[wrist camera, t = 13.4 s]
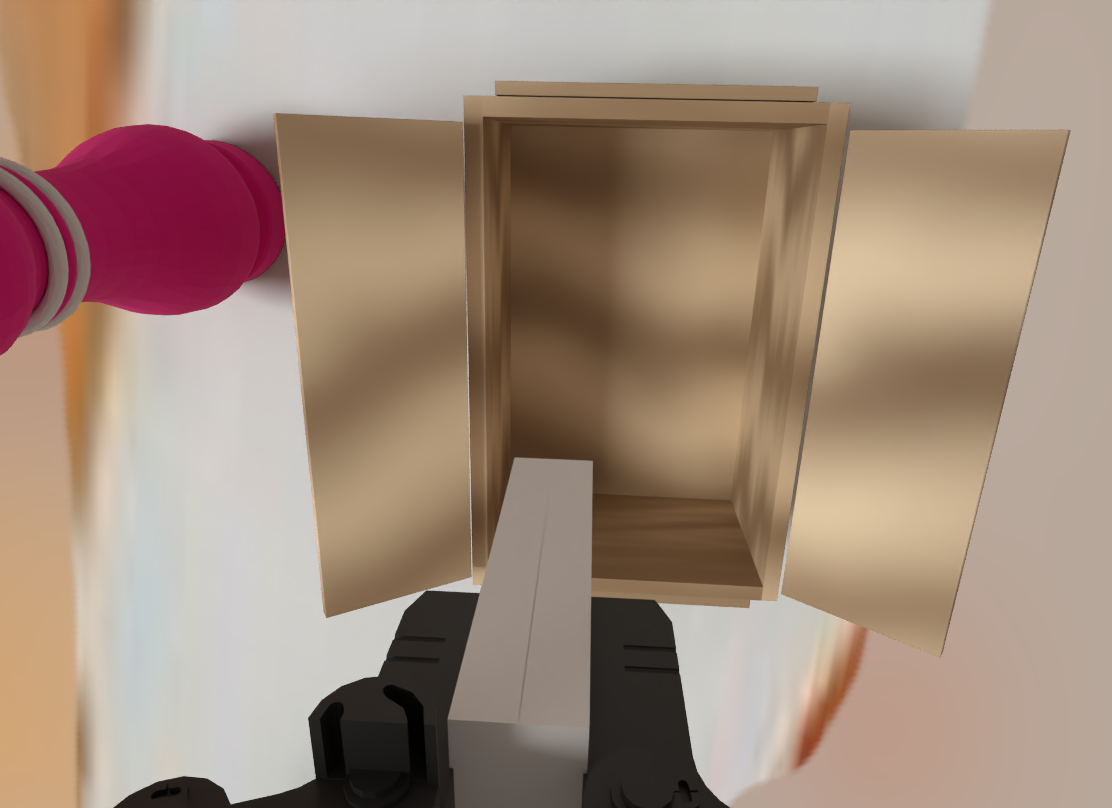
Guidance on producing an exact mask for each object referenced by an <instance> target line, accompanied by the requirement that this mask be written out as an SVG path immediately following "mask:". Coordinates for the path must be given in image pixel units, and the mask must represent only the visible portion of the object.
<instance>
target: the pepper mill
mask: <svg viewBox="0 0 1112 808" xmlns="http://www.w3.org/2000/svg"><path fill="white" fill-rule="evenodd" d="M285 236H286V234H285V224H284V214H283V205H282V196H281V193H280V191H279V189H278V187H277V185H276V183H275V182H274V180H273V178H272V177H271V175H270V174H269V173H268V172H267V170H266V169H265V168H264V167H263V166H262V165H261V164H260V163H259V162H258V161H257V160H256V159H255V158H253V157H252V156H250V155H249V154H248V153H246V152H245V151H243V150H241V149H239V148H237V147H235V146H233V145H230V144H227V143H224V142H219V141H209V140H203V139H201V138H199V137H197V136H195V135H193V134H191V133H188V132H186V131H183V130H179V129H176V128H172V127H169V126H161V125H150V124H147V125H133V126H126V127H119V128H113V129H111V130H108V131H106V132H103V133H101V134H98V135H96V136H94V137H92V138H91V139H89V140H87V141H85V142H83V143H81V144H80V145H78V146H77V147H76V148H75V149H74V150H73V151H71V152H70V153H69V154H68V155H67V156H66V157H65V158H64V159H63V160H62V161H61V162H60V163H59V164H58V166H57V167H55V168H52V169H49V170H42V171H35V172H34V171H32V170H31V169H29V168H26V167H24V166H22V165H20V164H18V163H16V162H13V161H10V160H7V159H4V158H0V355H2V354H3V353H5V352H6V351H7V350H8V349H9V348H10V347H11V346H12V345H13V343H14V342H15V341H16V339H17V338H19V337H22V336H25V335H28V334H31V333H33V332H36V331H41V330H46V329H49V328H51V327H54V326H56V325H58V324H60V323H61V322H62V321H64V320H65V319H67V318H68V317H69V316H70V315H71V314H73V313H74V312H75V310H76V309H77V308H78V306H79V305H80V304H81V302H100V303H104V304H108V305H111V306H114V307H118V308H121V309H124V310H128V311H131V312H136V313H142V314H154V315H180V314H184V313H189V312H193V311H198V310H202V309H207V308H209V307H212V306H214V305H217V304H219V303H220V302H222V301H224V300H225V299H227V298H228V297H230V296H231V295H232V294H233V293H234V292H235V291H237V290H238V289H239V288H240V286H241V285H242V284H243V283H244V282H246V281H249V280H251V279H254V278H256V277H257V276H259V275H260V274H262V273H263V272H265V271H266V270H267V269H268V268H269V267H270V266H271V265H272V264H273V263H274V262H275V260H276V259H277V257H278V256H279V254H280V252H281V250H282V246H283V243H284V240H285Z"/></svg>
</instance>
